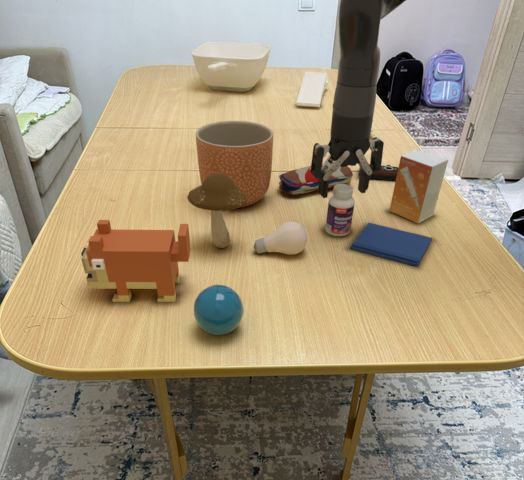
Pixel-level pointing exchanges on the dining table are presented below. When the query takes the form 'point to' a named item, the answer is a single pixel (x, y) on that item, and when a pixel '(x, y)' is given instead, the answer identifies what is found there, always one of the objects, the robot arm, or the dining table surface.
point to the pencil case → (311, 180)
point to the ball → (218, 309)
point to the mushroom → (217, 203)
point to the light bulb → (284, 239)
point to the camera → (384, 173)
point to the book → (392, 244)
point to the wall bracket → (312, 89)
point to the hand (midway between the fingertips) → (342, 194)
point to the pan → (231, 64)
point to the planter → (237, 155)
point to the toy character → (135, 260)
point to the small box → (418, 185)
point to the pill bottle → (340, 210)
